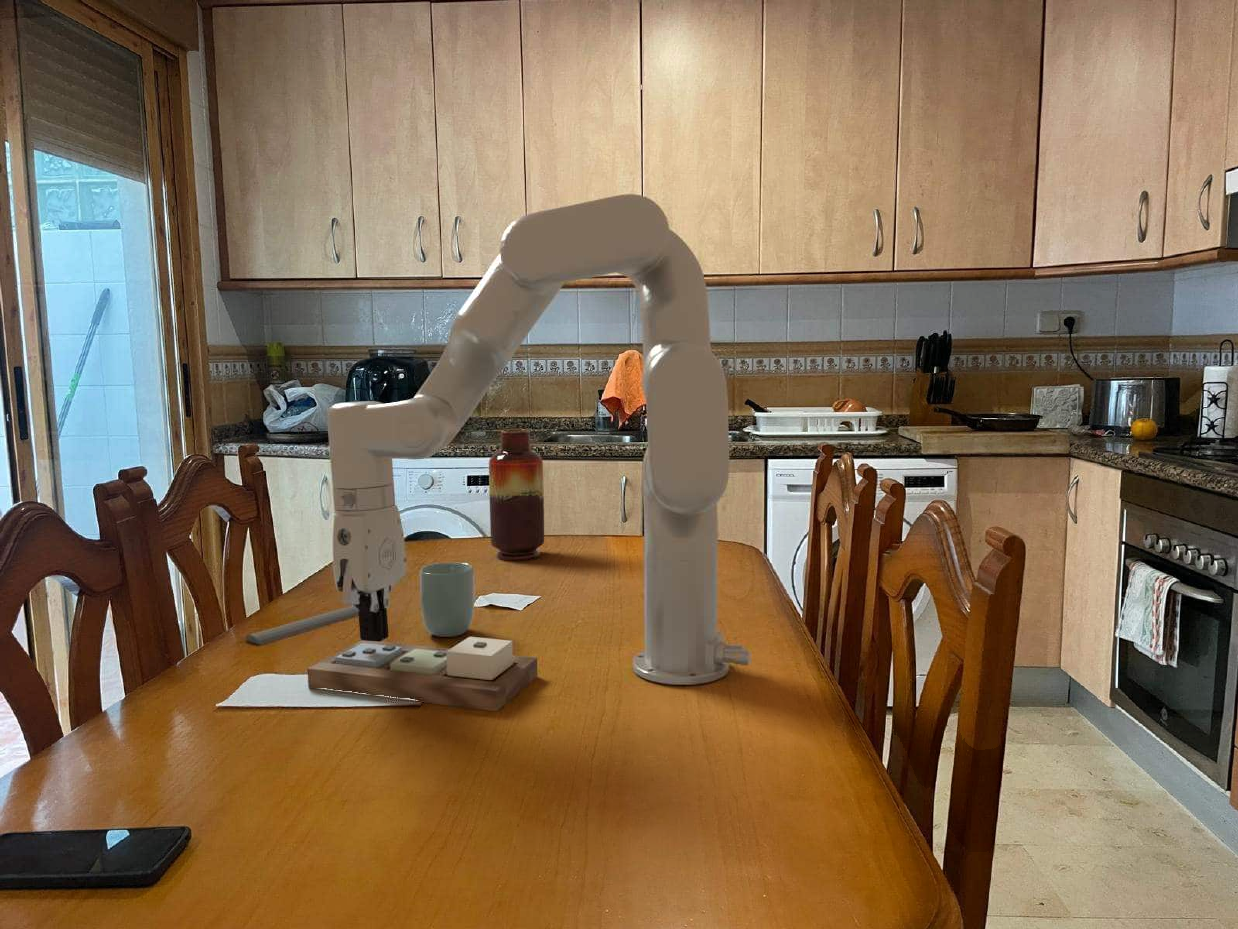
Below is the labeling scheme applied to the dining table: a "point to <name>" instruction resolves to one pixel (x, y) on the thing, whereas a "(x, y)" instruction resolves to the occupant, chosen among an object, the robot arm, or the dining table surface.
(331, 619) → the gray half cylinder
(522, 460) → the vase
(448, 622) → the cup
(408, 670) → the tile
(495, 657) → the tile
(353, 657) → the tile
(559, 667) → the dining table surface
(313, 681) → the board
